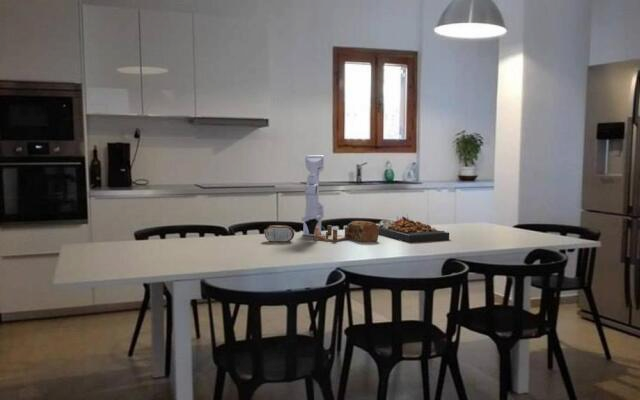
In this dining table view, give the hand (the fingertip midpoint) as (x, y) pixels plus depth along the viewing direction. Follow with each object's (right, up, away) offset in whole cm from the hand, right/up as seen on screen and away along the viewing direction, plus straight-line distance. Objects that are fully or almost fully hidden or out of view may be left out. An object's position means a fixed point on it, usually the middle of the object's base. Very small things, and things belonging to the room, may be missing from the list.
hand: (311, 234), depth 284 cm
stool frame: (+11, -3, +6) cm, 13 cm away
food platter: (+52, -3, +20) cm, 56 cm away
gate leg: (+4, -2, +3) cm, 6 cm away
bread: (+27, -4, +6) cm, 27 cm away
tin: (-16, -4, -3) cm, 17 cm away
